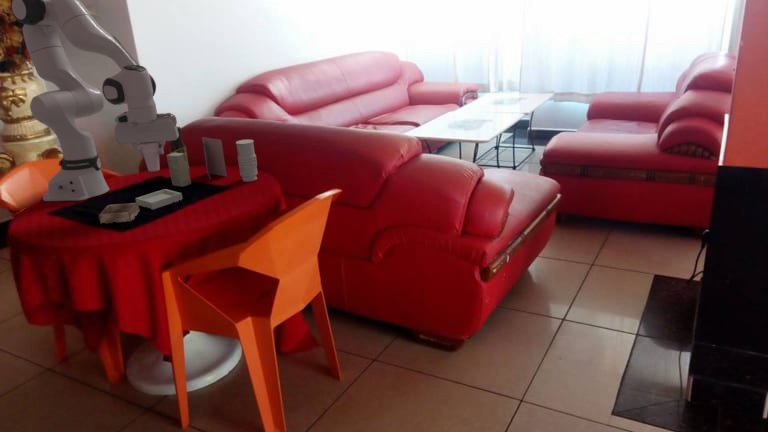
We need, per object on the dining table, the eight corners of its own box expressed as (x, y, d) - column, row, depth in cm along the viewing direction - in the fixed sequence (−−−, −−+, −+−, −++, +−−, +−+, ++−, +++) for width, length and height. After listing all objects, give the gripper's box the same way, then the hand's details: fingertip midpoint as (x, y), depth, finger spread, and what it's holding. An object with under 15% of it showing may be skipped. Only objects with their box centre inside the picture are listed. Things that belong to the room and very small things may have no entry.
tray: (152, 209, 205) (151, 202, 204) (136, 204, 210) (135, 198, 210) (182, 199, 214) (181, 193, 213) (166, 195, 219) (165, 188, 218)
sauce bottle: (181, 178, 239) (172, 129, 232) (170, 176, 242) (162, 128, 235) (193, 174, 244) (185, 126, 237) (183, 172, 247) (175, 125, 240)
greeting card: (205, 173, 245) (199, 137, 239) (223, 170, 247) (218, 135, 242) (208, 180, 235) (202, 143, 229) (227, 177, 237) (222, 140, 232)
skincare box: (191, 184, 231) (186, 153, 227) (182, 187, 228) (177, 156, 223) (180, 182, 234) (175, 151, 230) (171, 185, 231) (166, 154, 227)
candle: (256, 181, 231) (251, 143, 225) (238, 182, 231) (233, 144, 226) (260, 176, 237) (255, 139, 232) (242, 176, 237) (238, 139, 232)
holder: (100, 223, 194) (98, 215, 193) (109, 213, 203) (107, 205, 202) (132, 221, 195) (130, 212, 194) (139, 210, 204) (137, 202, 203)
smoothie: (157, 172, 204) (149, 132, 199) (140, 172, 205) (132, 132, 201) (167, 167, 210) (160, 128, 205) (150, 167, 211) (143, 128, 206)
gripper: (176, 110, 205) (183, 150, 210) (115, 115, 203) (123, 154, 208) (173, 114, 199) (180, 154, 204) (109, 118, 197) (118, 159, 202)
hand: (151, 154), depth 206 cm, fingers closed on smoothie, 5 cm apart
